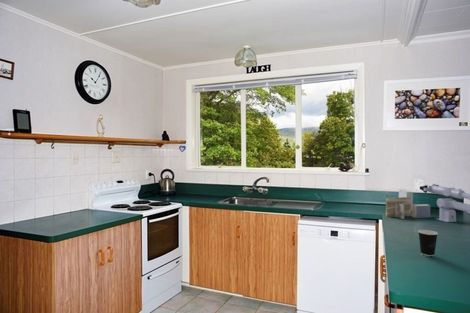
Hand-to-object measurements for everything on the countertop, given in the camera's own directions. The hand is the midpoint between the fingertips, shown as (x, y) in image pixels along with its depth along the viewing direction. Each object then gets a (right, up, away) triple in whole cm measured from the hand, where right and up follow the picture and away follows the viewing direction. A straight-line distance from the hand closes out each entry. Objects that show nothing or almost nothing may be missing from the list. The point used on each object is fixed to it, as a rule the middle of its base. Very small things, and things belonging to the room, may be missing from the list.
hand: (424, 187), depth 238 cm
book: (-7, -21, -7) cm, 24 cm away
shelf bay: (-22, -21, -9) cm, 32 cm away
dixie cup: (-57, -22, -94) cm, 112 cm away
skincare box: (0, -21, +26) cm, 34 cm away
